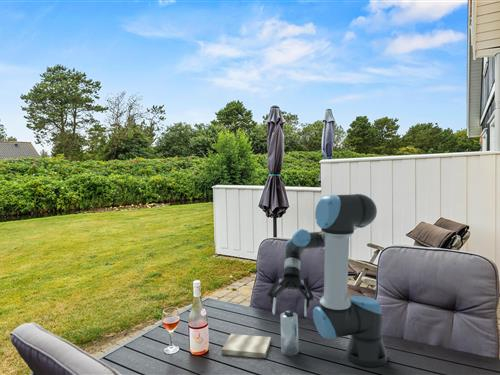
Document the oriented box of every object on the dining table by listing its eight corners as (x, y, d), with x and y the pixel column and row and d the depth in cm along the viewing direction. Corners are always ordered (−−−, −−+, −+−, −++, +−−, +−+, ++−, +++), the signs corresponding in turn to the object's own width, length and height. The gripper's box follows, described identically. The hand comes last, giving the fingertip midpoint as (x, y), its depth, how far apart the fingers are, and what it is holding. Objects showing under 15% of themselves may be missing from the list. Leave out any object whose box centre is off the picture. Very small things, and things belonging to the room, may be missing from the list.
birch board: (270, 341, 149) (270, 337, 149) (265, 358, 135) (265, 353, 135) (231, 338, 153) (231, 333, 153) (221, 354, 139) (221, 349, 139)
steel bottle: (299, 347, 143) (298, 308, 142) (297, 356, 136) (296, 315, 136) (282, 346, 144) (281, 307, 144) (280, 354, 138) (279, 314, 137)
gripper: (319, 274, 160) (319, 319, 146) (267, 272, 166) (261, 315, 152) (318, 266, 155) (318, 312, 141) (264, 264, 161) (259, 308, 146)
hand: (289, 314), depth 146 cm, fingers open, 13 cm apart
